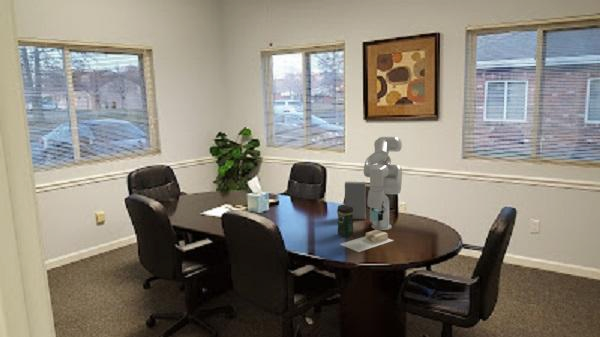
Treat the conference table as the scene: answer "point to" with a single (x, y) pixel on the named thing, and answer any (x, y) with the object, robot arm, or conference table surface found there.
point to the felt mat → (362, 244)
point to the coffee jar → (345, 221)
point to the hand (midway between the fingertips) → (376, 218)
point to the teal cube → (374, 215)
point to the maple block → (376, 236)
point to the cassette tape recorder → (356, 198)
